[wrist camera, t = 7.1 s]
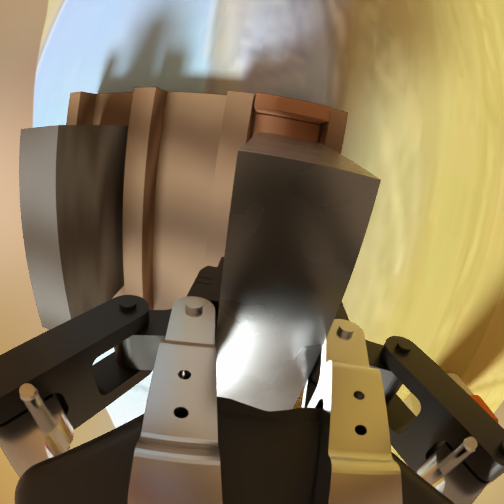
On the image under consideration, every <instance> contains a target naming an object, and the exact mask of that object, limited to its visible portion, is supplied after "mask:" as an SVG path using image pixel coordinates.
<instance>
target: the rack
mask: <svg viewBox="0 0 504 504" xmlns="http://www.w3.org/2000/svg"><path fill="white" fill-rule="evenodd" d="M347 115H348V113H347V112H344V111H340V110H336V109H332V108H331V107H329V106H325V105H320V104H316V103H312V102H307V101H302V100H297V99H292V98H286V97H281V96H275V95H269V94H262V93H256V98H255V95H254V94H253V93H246V92H237V91H227V95H218V94H205V93H189V92H167V91H164V90H162V89H160V88H157V87H134V92H120V93H104V94H92V93H86V92H74V93H70V100H69V107H68V115H67V123H66V125H58V126H46V127H37V128H28V129H22V130H21V136H20V157H19V158H20V159H19V186H20V207H21V219H22V229H23V238H24V245H25V251H26V258H27V263H28V269H29V274H30V280H31V284H32V289H33V293H34V297H35V301H36V305H37V309H38V313H39V316H40V320H41V323H42V326H43V327H45V328H47V329H49V330H50V329H52V328H54V327H56V326H58V325H60V324H62V323H64V322H66V321H68V320H70V319H72V318H74V317H76V316H78V315H81V314H83V313H85V312H87V311H89V310H91V309H93V308H95V307H97V306H99V305H101V304H103V303H105V302H107V301H109V300H111V299H113V298H115V297H118V296H121V295H136V296H139V297H141V298H143V299H145V300H146V301H147V303H148V305H149V310H168V309H172V307H173V304H174V302H175V301H176V300H178V299H180V298H183V297H186V296H187V294H188V292H189V290H190V288H191V287H192V285H193V283H194V281H195V279H196V277H197V275H198V273H199V271H200V270H201V269H203V268H204V267H206V266H213V267H218V264H219V262H220V260H221V257H224V255H225V247H226V238H227V230H228V222H229V214H230V206H231V198H232V190H233V183H234V175H235V168H236V161H237V154H238V150H239V149H240V148H241V147H242V146H243V145H245V144H246V143H247V142H248V141H249V140H250V139H251V138H252V137H253V136H255V135H256V134H257V133H258V132H265V133H272V134H277V135H283V136H289V137H294V138H299V139H304V140H309V141H314V142H318V143H322V144H324V145H326V146H327V147H329V148H331V149H333V150H334V151H336V152H338V153H339V154H341V149H342V144H343V138H344V133H345V127H346V121H347Z"/></svg>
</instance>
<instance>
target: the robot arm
mask: <svg viewBox="0 0 504 504" xmlns="http://www.w3.org/2000/svg"><path fill="white" fill-rule="evenodd" d="M223 264H224V257H221V260H220V262H219V264H218V267H213V266H206V267H204V268H203V269H201V270H200V271H199V273H198V275H197V277H196V279H195V281H194V283H193V285H192V287H191V288H190V290H189V292H188V294H187V296H186V297H183V298H180V299H178V300H176V301H175V302H174V304H173V307H172V309H168V310H149V305H148V303H147V301H146V300H145V299H143V298H141V297H139V296H136V295H121V296H118V297H115V298H113V299H111V300H109V301H107V302H105V303H103V304H101V305H99V306H97V307H95V308H93V309H91V310H89V311H87V312H85V313H83V314H81V315H78V316H76V317H74V318H72V319H70V320H68V321H66V322H64V323H62V324H60V325H58V326H56V327H54V328H52V329H50V330H49V331H47V332H45V333H43V334H41V335H39V336H37V337H35V338H33V339H31V340H29V341H27V342H25V343H23V344H21V345H19V346H17V347H15V348H13V349H11V350H9V351H8V352H6V353H4V354H2V355H0V447H1V449H2V451H3V452H4V454H5V456H6V457H7V459H8V460H9V462H10V464H11V465H12V467H13V468H14V470H15V472H16V473H17V475H18V476H19V477H20V479H19V481H18V484H17V486H16V490H15V504H472V503H473V502H474V501H475V499H476V498H477V497H478V496H479V494H480V493H481V492H482V490H483V489H484V488H485V487H486V486H487V485H488V484H490V483H491V482H492V481H494V480H495V479H496V478H498V477H499V476H500V475H501V474H503V473H504V429H503V428H502V427H501V426H500V425H499V424H498V423H497V422H496V421H495V420H494V419H493V418H492V417H491V416H490V415H489V414H488V413H487V412H486V411H485V410H484V409H483V408H482V407H481V406H480V405H479V404H478V403H477V402H476V401H475V400H474V399H473V398H472V397H471V396H470V395H469V394H468V393H467V392H466V391H465V390H464V389H462V388H461V387H460V386H459V385H458V384H457V383H456V382H455V381H454V380H453V379H452V378H451V377H450V376H449V375H448V374H447V373H446V372H444V371H443V370H442V369H441V368H440V367H439V366H438V365H437V364H436V363H435V362H434V361H433V360H432V359H430V358H429V357H428V356H427V355H426V354H425V353H424V352H423V351H422V350H421V349H419V348H418V347H417V346H416V345H415V344H414V343H413V342H411V341H410V340H408V339H406V338H403V337H399V336H392V337H389V338H388V339H387V340H386V342H385V344H384V346H383V345H380V344H377V343H373V342H370V341H367V340H365V335H364V332H363V330H362V329H361V328H360V327H359V326H358V325H356V324H355V323H353V322H351V321H349V319H348V316H347V314H346V311H345V309H344V306H343V303H342V301H341V304H340V306H339V309H338V311H337V314H336V316H335V319H334V321H333V323H332V326H331V328H330V331H329V333H328V335H327V337H326V339H325V342H324V344H323V346H322V349H321V351H320V354H319V356H318V358H317V360H316V362H315V364H314V367H313V369H312V371H311V373H310V375H309V377H308V379H307V381H306V383H305V385H304V393H303V400H302V407H301V408H297V409H290V410H281V411H264V410H261V409H258V408H255V407H252V406H249V405H246V404H244V403H241V402H238V401H235V400H233V399H229V398H223V397H218V396H217V369H216V345H215V341H216V330H217V320H218V310H219V301H220V291H221V282H222V273H223ZM113 347H114V349H115V352H113V353H112V354H110V355H108V356H107V357H105V358H104V359H102V360H100V361H99V362H97V363H96V364H94V365H92V364H93V362H94V360H95V359H96V358H97V357H98V356H100V355H101V354H103V353H105V352H106V351H108V350H110V349H111V348H113ZM152 370H153V374H152V379H151V384H150V388H149V393H148V398H147V403H146V409H145V413H144V414H143V415H141V416H139V417H137V418H135V419H133V420H131V421H129V422H127V423H125V424H123V425H122V426H120V427H118V428H116V429H114V430H112V431H110V432H107V433H105V434H103V435H101V436H99V437H97V438H95V439H93V440H91V441H89V442H87V443H84V444H82V445H80V446H77V447H75V448H73V449H71V450H69V448H70V444H71V442H72V440H73V436H74V429H76V428H77V427H79V426H80V425H81V424H82V423H84V422H85V421H87V420H88V419H90V418H91V417H93V416H94V415H95V414H96V413H98V412H100V411H101V410H102V409H104V408H105V407H106V406H108V405H109V404H111V403H112V402H113V401H115V400H116V399H117V398H119V397H120V396H121V395H123V394H124V393H125V392H127V391H128V390H130V389H131V388H132V387H134V386H135V385H136V384H138V383H139V382H140V381H142V380H143V379H144V378H145V377H147V376H148V375H149V374H150V373H151V372H152ZM402 384H404V385H405V386H406V387H407V388H408V389H409V390H410V392H411V393H412V394H413V395H414V396H415V397H416V398H417V399H418V400H419V402H420V404H421V410H420V413H419V414H418V415H417V416H416V415H415V414H414V413H413V412H412V411H411V410H410V409H409V408H408V407H407V406H406V404H405V403H404V402H403V401H402V400H401V399H400V398H399V397H398V396H397V395H396V393H397V391H398V390H399V388H400V387H401V385H402ZM391 445H392V446H393V448H394V449H395V450H396V451H397V453H398V454H399V455H400V456H401V457H402V459H403V460H404V461H405V462H406V464H407V465H406V464H405V463H404V462H403V461H402V460H400V459H399V458H398V457H397V456H396V455H395V454H393V453H392V452H391Z"/></svg>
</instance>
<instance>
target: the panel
mask: <svg viewBox="0 0 504 504" xmlns="http://www.w3.org/2000/svg"><path fill="white" fill-rule="evenodd" d="M380 181H381V180H380V179H379V178H377V177H376V176H374V175H373V174H371V173H370V172H368V171H367V170H365V169H364V168H362V167H360V166H359V165H357V164H356V163H354V162H352V161H351V160H349V159H348V158H346V157H344V156H343V155H341V154H339V153H338V152H336V151H334V150H333V149H331V148H329V147H327V146H326V145H324V144H322V143H318V142H314V141H309V140H304V139H299V138H294V137H289V136H283V135H277V134H272V133H265V132H258V133H257V134H256V135H255V136H253V137H252V138H251V139H250V140H249V141H248V142H247V143H246V144H245V145H243V146H242V147H241V148H240V149H239V150H238V154H237V161H236V168H235V175H234V183H233V190H232V198H231V206H230V214H229V222H228V230H227V238H226V247H225V255H224V264H223V273H222V282H221V291H220V301H219V310H218V320H217V330H216V341H215V345H216V369H217V396H218V397H223V398H229V399H233V400H235V401H238V402H241V403H244V404H246V405H249V406H252V407H255V408H258V409H261V410H264V411H281V410H290V409H293V407H294V405H295V403H296V401H297V399H298V397H299V395H300V393H301V391H302V389H303V387H304V385H305V383H306V381H307V379H308V377H309V375H310V373H311V371H312V369H313V367H314V364H315V362H316V360H317V358H318V356H319V354H320V351H321V349H322V346H323V344H324V342H325V339H326V337H327V335H328V333H329V331H330V328H331V326H332V323H333V321H334V319H335V316H336V314H337V311H338V309H339V306H340V304H341V301H342V298H343V296H344V293H345V291H346V288H347V285H348V283H349V280H350V277H351V274H352V271H353V269H354V266H355V263H356V260H357V257H358V254H359V251H360V248H361V245H362V242H363V239H364V236H365V233H366V230H367V226H368V223H369V220H370V216H371V213H372V210H373V206H374V203H375V199H376V195H377V192H378V188H379V184H380Z"/></svg>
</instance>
